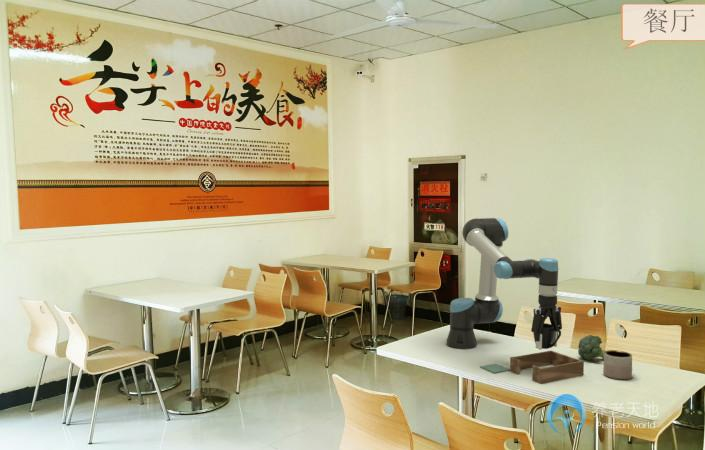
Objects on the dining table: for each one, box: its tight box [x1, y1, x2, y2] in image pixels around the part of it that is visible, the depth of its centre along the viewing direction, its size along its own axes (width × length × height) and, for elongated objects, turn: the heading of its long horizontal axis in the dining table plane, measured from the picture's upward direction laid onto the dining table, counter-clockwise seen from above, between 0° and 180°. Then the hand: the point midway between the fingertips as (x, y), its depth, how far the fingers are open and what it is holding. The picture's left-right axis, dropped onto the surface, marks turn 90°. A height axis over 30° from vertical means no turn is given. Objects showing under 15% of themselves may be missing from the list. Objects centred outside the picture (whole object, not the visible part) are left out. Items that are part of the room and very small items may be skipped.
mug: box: [532, 322, 562, 350], centre depth 235 cm, size 8×12×10 cm
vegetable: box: [577, 334, 606, 362], centre depth 254 cm, size 12×13×15 cm
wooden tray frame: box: [509, 350, 585, 385], centre depth 235 cm, size 18×24×6 cm
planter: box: [602, 349, 633, 381], centre depth 231 cm, size 11×11×10 cm
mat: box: [479, 363, 511, 374], centre depth 240 cm, size 9×9×1 cm
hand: (546, 347), depth 235 cm, fingers closed on mug, 8 cm apart
